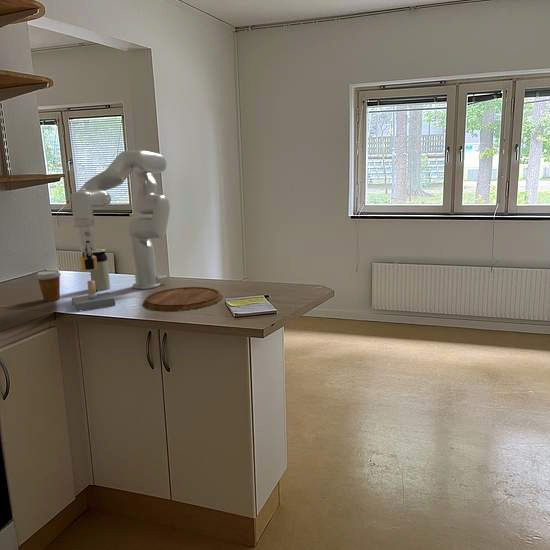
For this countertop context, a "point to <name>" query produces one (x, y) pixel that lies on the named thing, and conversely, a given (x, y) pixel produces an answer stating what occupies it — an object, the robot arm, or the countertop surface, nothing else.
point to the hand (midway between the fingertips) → (88, 267)
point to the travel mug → (101, 270)
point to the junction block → (93, 299)
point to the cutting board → (182, 298)
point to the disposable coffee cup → (49, 284)
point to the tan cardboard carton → (82, 263)
